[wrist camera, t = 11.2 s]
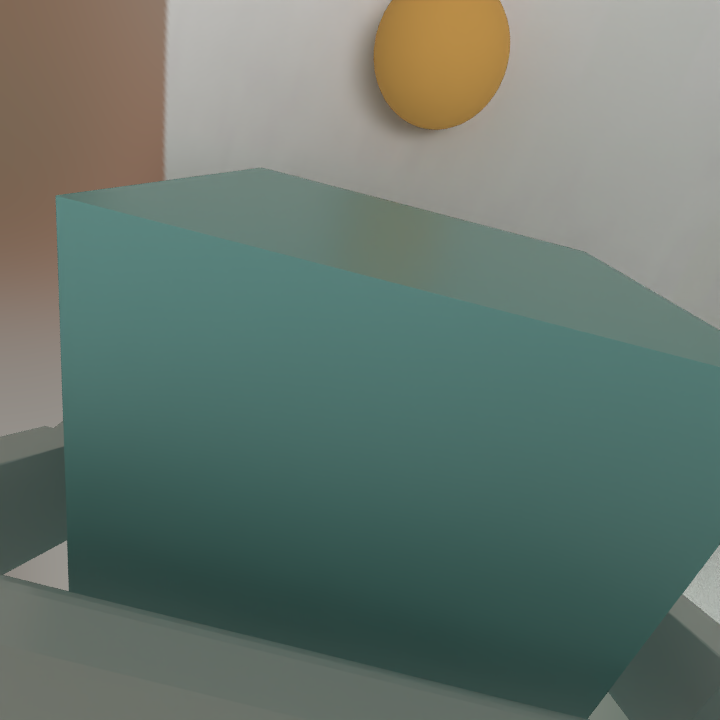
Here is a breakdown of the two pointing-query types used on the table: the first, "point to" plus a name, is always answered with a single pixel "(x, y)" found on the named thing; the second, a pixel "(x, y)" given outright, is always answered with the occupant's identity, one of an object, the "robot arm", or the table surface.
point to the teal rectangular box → (380, 432)
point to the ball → (441, 58)
